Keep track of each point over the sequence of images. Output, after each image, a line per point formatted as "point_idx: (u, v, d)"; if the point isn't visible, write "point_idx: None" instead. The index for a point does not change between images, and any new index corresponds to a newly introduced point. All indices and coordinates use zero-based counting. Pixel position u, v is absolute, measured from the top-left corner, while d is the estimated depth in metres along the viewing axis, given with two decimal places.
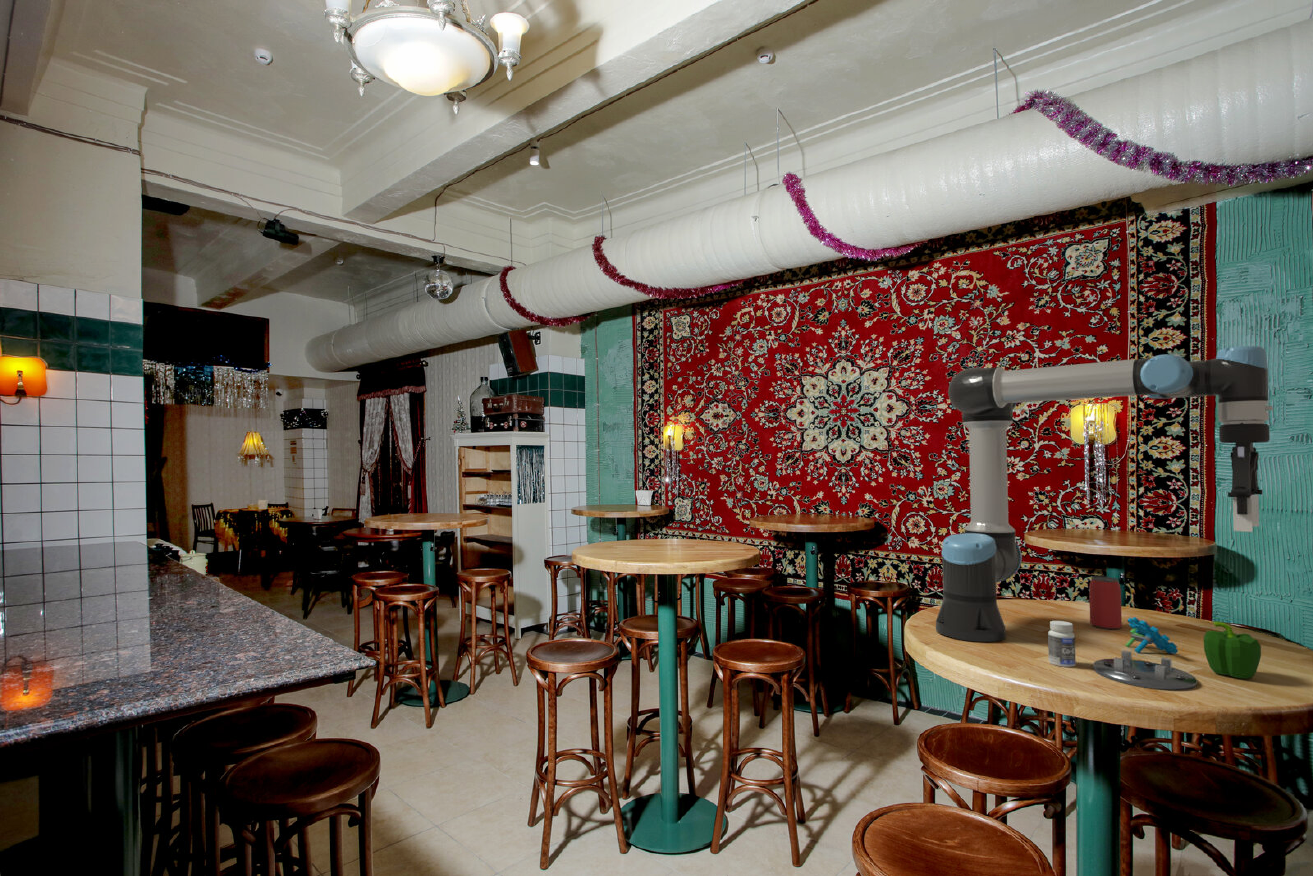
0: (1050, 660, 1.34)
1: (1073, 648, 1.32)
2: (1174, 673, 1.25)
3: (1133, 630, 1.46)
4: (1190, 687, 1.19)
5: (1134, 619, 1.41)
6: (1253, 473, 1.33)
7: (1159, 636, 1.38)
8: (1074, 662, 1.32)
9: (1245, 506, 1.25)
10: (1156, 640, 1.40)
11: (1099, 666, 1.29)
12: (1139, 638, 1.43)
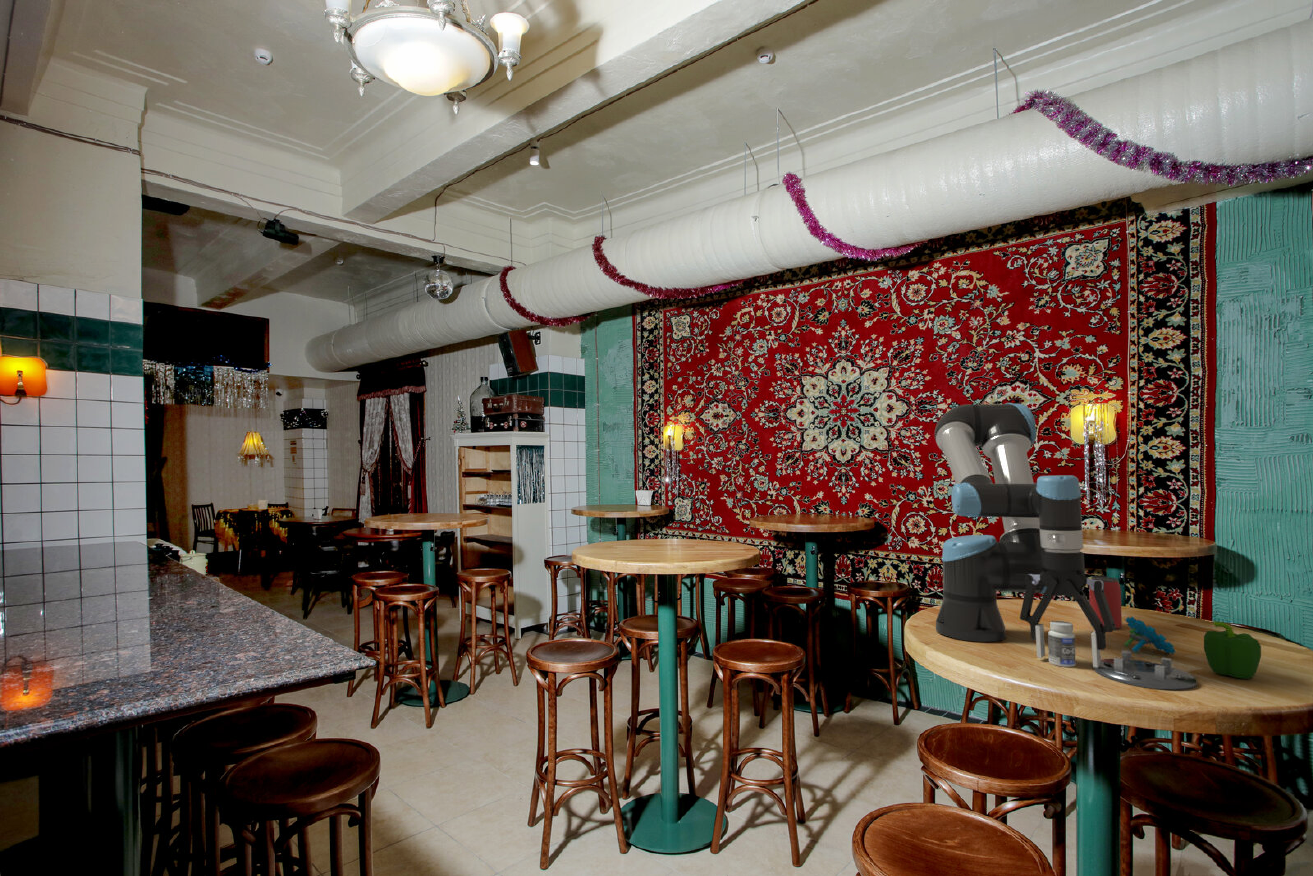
0: (1050, 660, 1.34)
1: (1073, 648, 1.32)
2: (1174, 673, 1.25)
3: (1132, 630, 1.46)
4: (1190, 687, 1.19)
5: (1131, 619, 1.42)
6: None
7: (1156, 636, 1.38)
8: (1074, 662, 1.32)
9: None
10: (1154, 640, 1.40)
11: (1099, 666, 1.29)
12: (1137, 638, 1.43)
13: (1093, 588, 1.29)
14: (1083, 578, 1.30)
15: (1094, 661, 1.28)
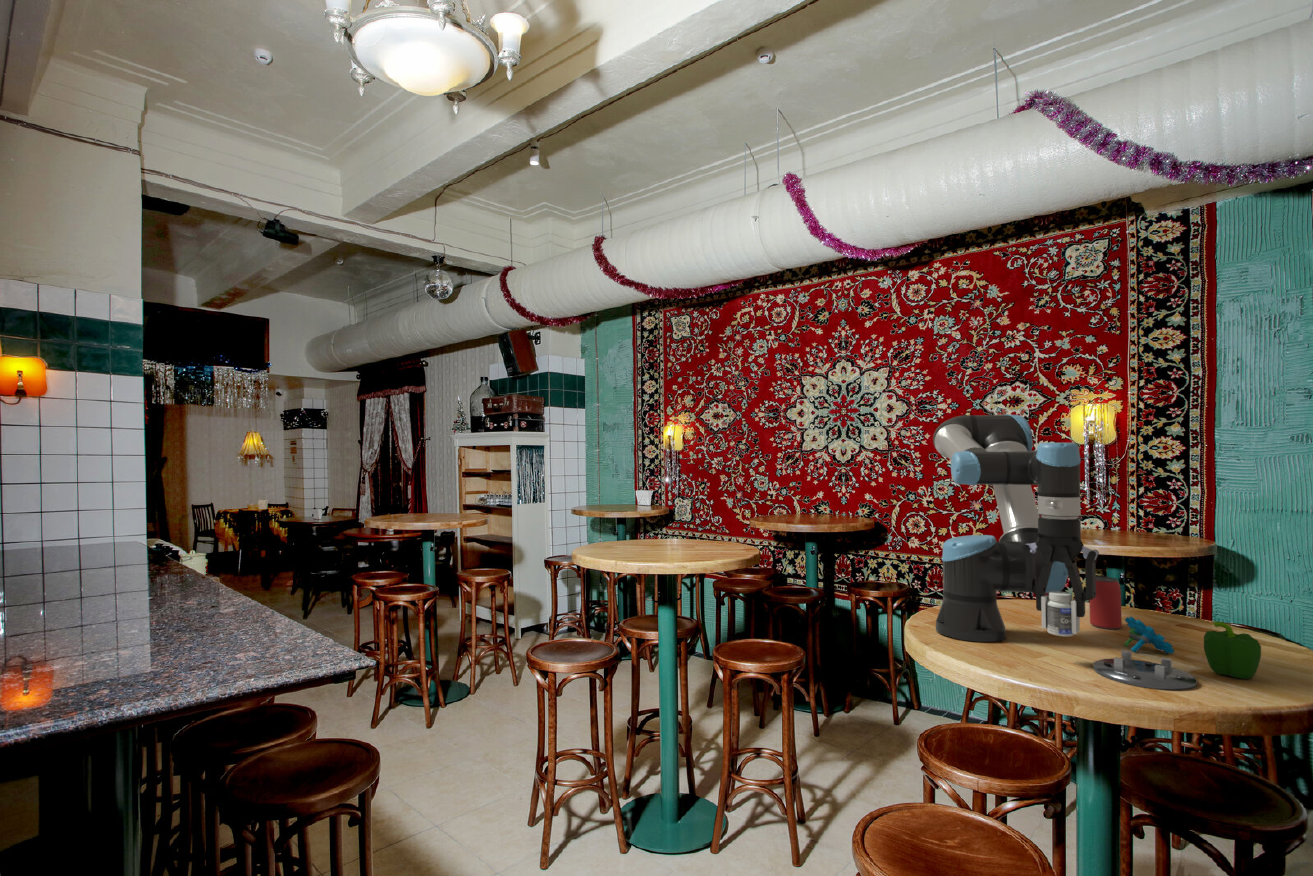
0: (1048, 630, 1.34)
1: None
2: (1174, 673, 1.25)
3: (1132, 630, 1.46)
4: (1190, 687, 1.19)
5: (1130, 618, 1.42)
6: None
7: (1155, 636, 1.38)
8: None
9: None
10: (1153, 640, 1.40)
11: (1099, 666, 1.29)
12: (1136, 638, 1.43)
13: (1086, 557, 1.30)
14: (1079, 545, 1.31)
15: (1073, 628, 1.31)
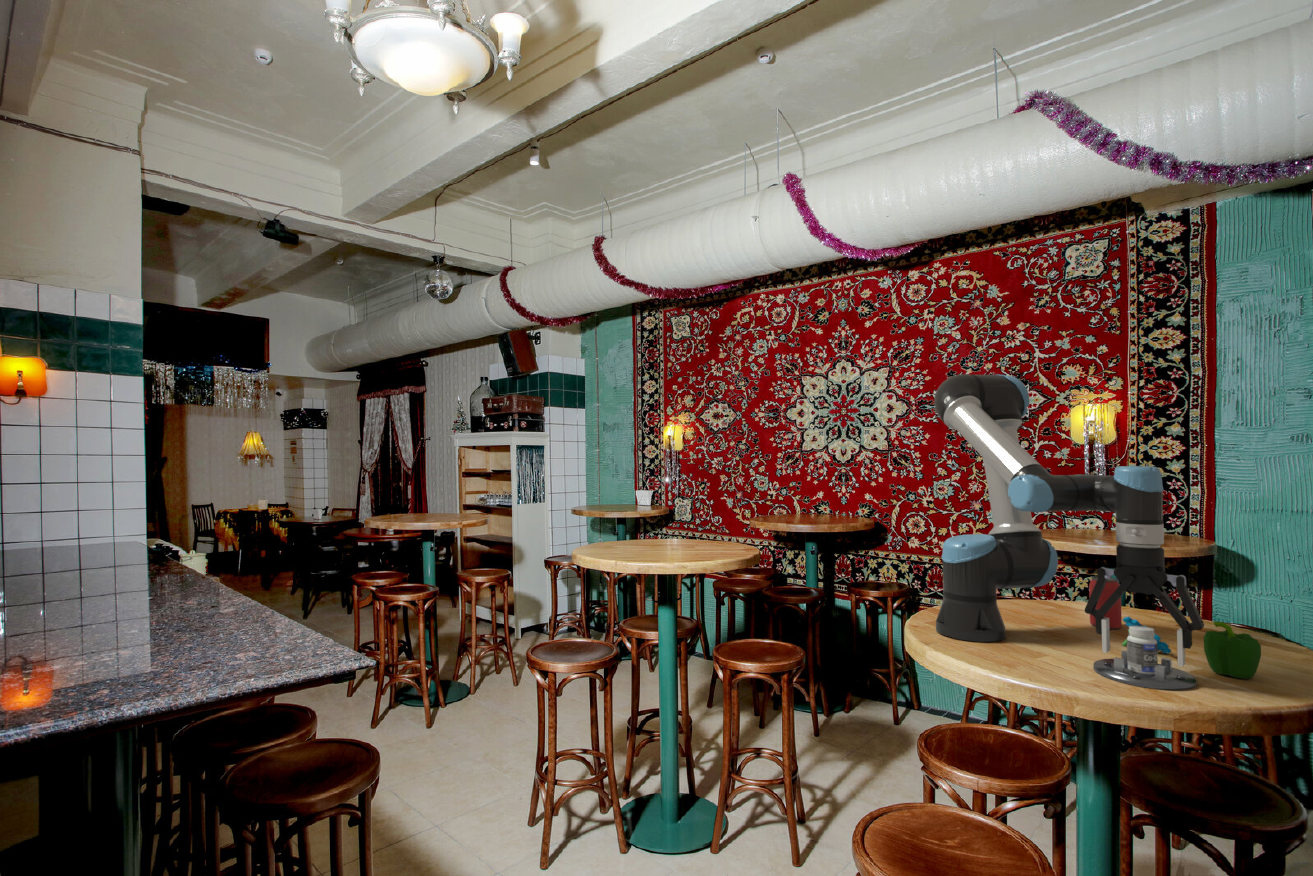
0: (1130, 667, 1.26)
1: (1155, 655, 1.24)
2: (1174, 673, 1.25)
3: None
4: (1190, 687, 1.19)
5: (1127, 618, 1.42)
6: None
7: None
8: None
9: None
10: None
11: (1099, 666, 1.29)
12: None
13: (1175, 584, 1.22)
14: (1163, 574, 1.23)
15: (1179, 660, 1.21)
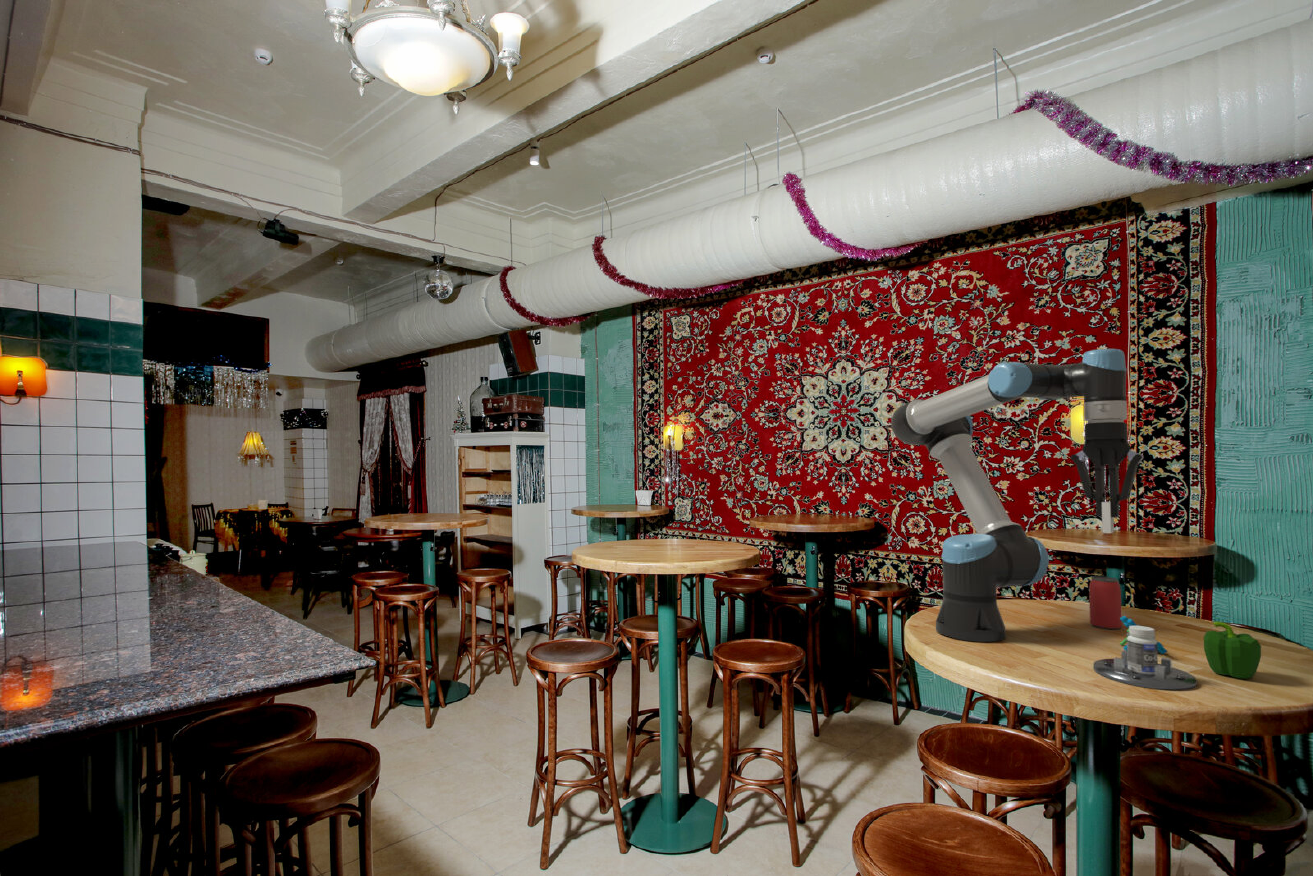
0: (1130, 667, 1.26)
1: (1155, 655, 1.24)
2: (1174, 673, 1.25)
3: None
4: (1190, 687, 1.19)
5: (1123, 617, 1.43)
6: None
7: None
8: None
9: None
10: None
11: (1099, 666, 1.29)
12: None
13: (1131, 459, 1.34)
14: (1127, 448, 1.35)
15: (1108, 528, 1.37)
